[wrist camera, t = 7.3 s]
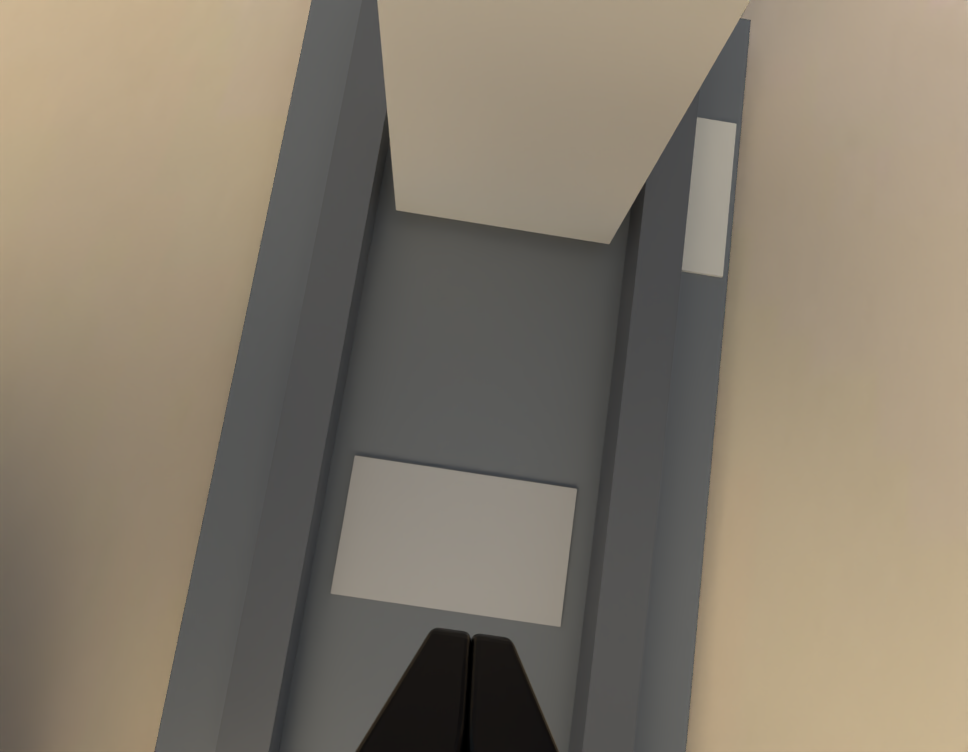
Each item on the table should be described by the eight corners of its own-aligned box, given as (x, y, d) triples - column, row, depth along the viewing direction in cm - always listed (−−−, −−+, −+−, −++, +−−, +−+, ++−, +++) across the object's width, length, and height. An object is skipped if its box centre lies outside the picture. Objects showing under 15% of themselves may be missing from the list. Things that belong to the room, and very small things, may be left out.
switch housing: (653, 955, 19) (687, 1015, 16) (138, 886, 18) (94, 936, 16) (736, 42, 23) (772, -18, 21) (327, -27, 23) (315, -97, 21)
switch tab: (616, 255, 20) (900, -200, 8) (385, 218, 20) (321, -302, 8) (630, 138, 21) (913, -449, 9) (406, 100, 21) (376, -549, 9)
